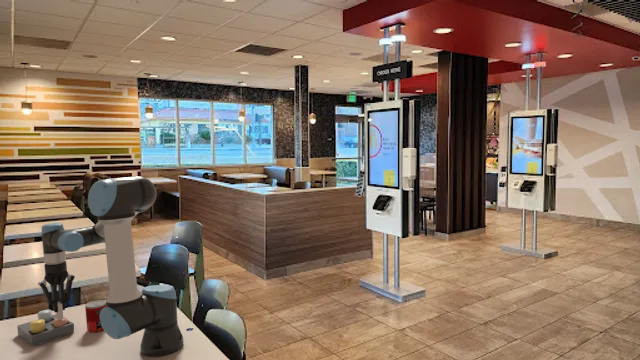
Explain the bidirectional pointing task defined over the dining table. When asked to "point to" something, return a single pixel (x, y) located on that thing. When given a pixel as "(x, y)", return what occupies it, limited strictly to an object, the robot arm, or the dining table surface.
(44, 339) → the button panel
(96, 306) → the canned food
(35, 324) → the button mustard
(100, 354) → the dining table surface
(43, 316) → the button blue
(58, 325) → the salmon pink rounded dome
